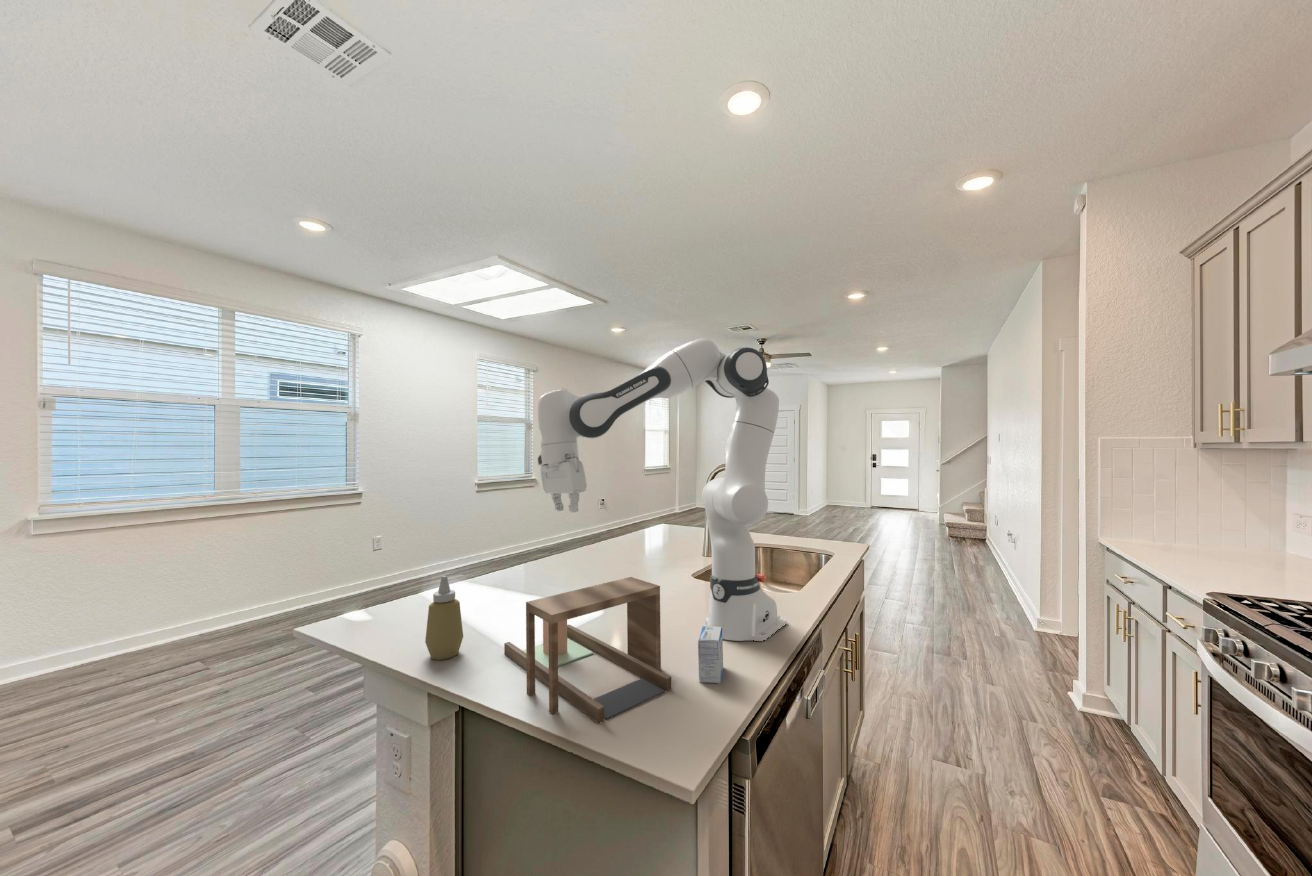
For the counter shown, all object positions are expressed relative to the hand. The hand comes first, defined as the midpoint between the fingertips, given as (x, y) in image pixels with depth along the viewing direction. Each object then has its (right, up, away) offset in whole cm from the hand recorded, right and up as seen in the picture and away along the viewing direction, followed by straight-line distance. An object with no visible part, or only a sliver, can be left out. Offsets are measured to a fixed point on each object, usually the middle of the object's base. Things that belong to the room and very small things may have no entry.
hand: (566, 511), depth 119 cm
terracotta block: (-1, -31, -7) cm, 32 cm away
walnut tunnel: (+7, -31, -17) cm, 36 cm away
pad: (-1, -32, -8) cm, 33 cm away
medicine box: (+33, -31, -18) cm, 49 cm away
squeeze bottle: (-27, -32, -7) cm, 42 cm away
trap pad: (+16, -31, -27) cm, 45 cm away
